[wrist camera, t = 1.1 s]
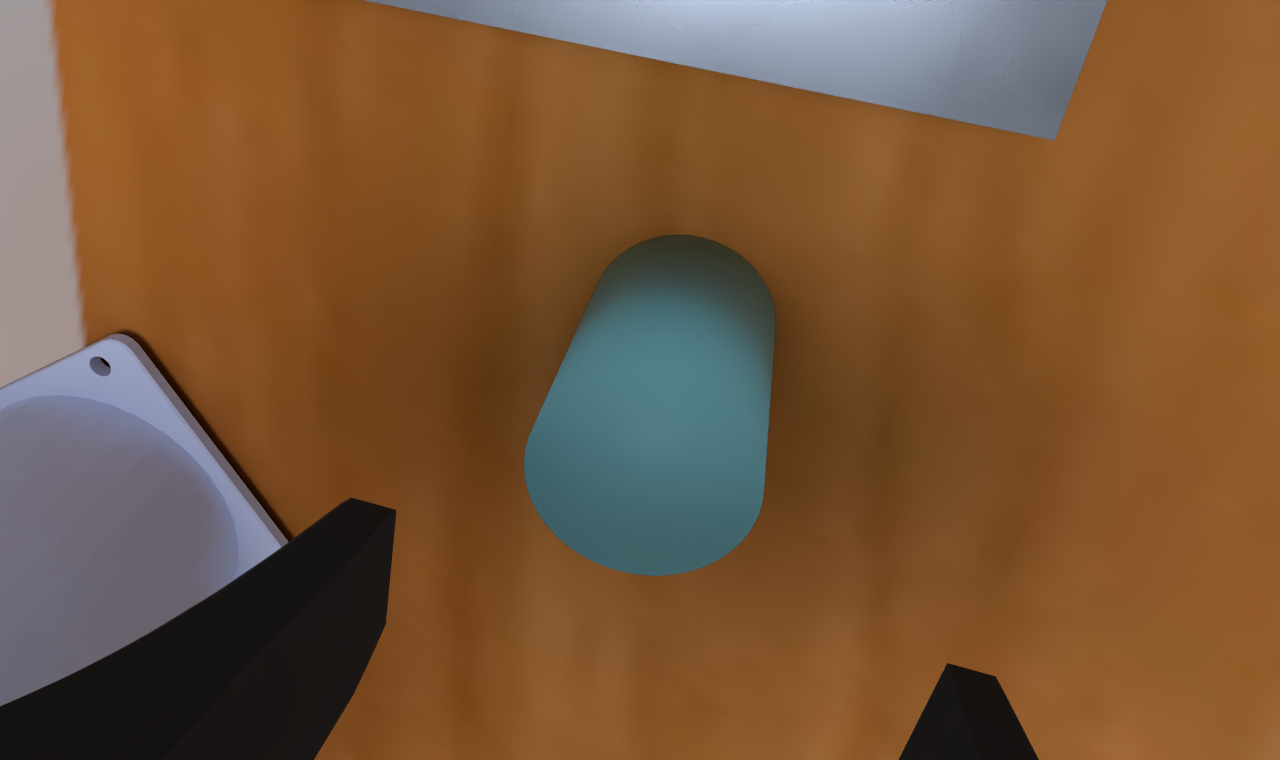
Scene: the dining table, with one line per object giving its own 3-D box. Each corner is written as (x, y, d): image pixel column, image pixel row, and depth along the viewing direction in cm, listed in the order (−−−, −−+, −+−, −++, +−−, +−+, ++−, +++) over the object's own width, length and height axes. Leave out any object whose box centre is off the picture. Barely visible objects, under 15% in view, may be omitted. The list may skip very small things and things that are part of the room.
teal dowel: (640, 425, 24) (592, 600, 18) (558, 277, 22) (480, 422, 17) (804, 367, 22) (802, 537, 17) (728, 205, 21) (701, 338, 16)
